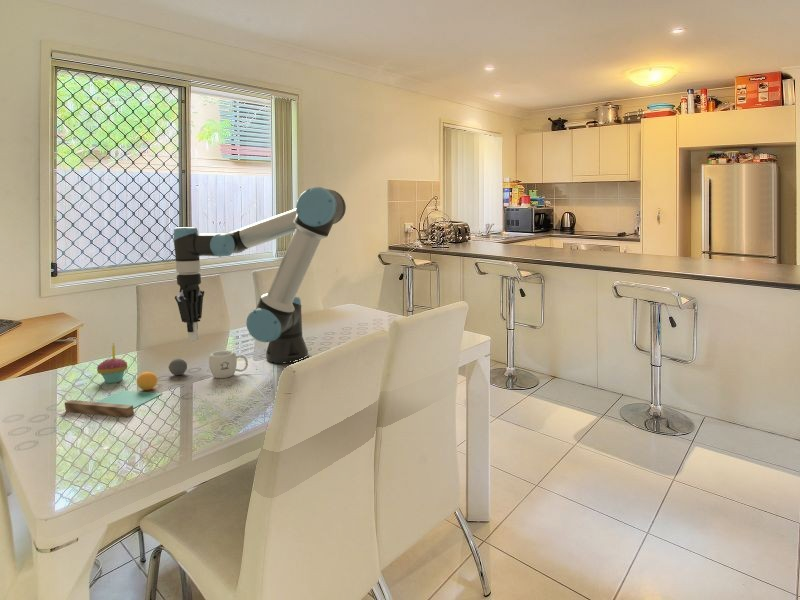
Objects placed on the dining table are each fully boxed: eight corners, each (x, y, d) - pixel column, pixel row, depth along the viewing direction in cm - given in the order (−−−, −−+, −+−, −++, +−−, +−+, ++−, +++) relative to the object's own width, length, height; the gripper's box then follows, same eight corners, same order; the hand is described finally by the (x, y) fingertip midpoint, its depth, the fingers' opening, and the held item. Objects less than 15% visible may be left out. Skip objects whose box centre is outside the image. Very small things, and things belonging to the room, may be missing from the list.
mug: (210, 381, 153) (208, 358, 152) (210, 373, 161) (208, 351, 159) (249, 376, 157) (248, 353, 156) (247, 369, 165) (246, 347, 164)
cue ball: (191, 372, 162) (189, 357, 161) (180, 378, 157) (179, 361, 156) (177, 371, 163) (175, 356, 162) (165, 377, 158) (164, 360, 157)
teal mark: (162, 394, 143) (162, 393, 143) (125, 412, 129) (125, 412, 129) (122, 390, 146) (122, 390, 146) (82, 408, 132) (82, 408, 132)
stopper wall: (133, 414, 128) (132, 405, 128) (128, 417, 126) (127, 408, 126) (72, 408, 132) (71, 399, 132) (65, 411, 131) (64, 402, 130)
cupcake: (107, 376, 159) (103, 341, 157) (134, 375, 160) (130, 340, 158) (93, 385, 151) (88, 348, 149) (121, 384, 151) (117, 347, 149)
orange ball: (162, 387, 149) (160, 369, 148) (149, 393, 143) (147, 375, 142) (147, 385, 150) (145, 368, 149) (133, 392, 145) (131, 374, 144)
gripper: (191, 270, 171) (195, 335, 175) (165, 275, 158) (171, 344, 162) (209, 271, 169) (214, 336, 173) (185, 275, 156) (190, 346, 160)
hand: (193, 340), depth 168 cm, fingers closed
